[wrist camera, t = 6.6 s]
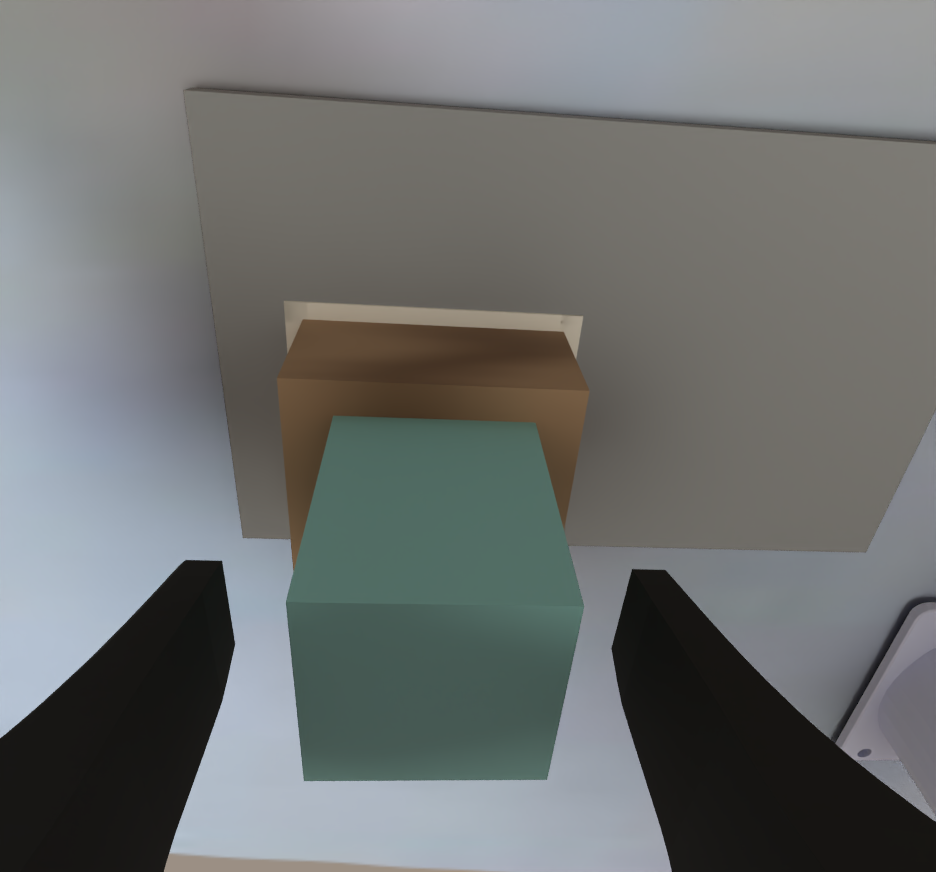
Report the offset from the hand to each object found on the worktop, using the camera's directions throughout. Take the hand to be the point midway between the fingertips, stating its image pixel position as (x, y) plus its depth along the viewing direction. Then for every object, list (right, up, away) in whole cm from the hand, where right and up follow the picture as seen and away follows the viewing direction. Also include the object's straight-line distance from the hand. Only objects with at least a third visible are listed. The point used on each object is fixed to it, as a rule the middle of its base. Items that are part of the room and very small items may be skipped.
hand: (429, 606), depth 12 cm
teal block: (0, +2, +2) cm, 3 cm away
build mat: (+4, +5, +5) cm, 8 cm away
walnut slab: (0, +3, +5) cm, 6 cm away
